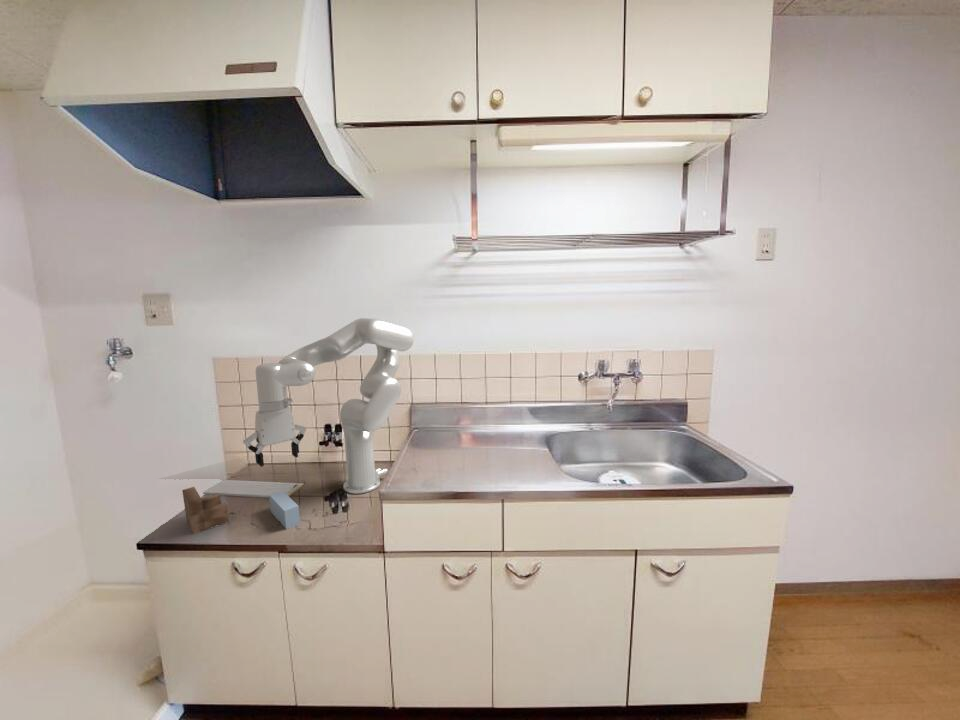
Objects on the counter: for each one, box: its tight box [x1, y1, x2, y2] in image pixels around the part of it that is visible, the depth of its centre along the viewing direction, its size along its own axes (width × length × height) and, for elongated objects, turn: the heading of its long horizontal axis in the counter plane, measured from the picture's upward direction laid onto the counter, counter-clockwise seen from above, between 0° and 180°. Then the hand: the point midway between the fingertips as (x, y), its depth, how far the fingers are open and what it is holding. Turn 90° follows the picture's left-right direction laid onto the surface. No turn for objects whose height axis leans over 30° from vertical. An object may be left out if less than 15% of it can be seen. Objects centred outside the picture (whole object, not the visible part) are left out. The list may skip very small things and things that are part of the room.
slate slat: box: [268, 490, 301, 530], centre depth 124 cm, size 4×14×6 cm, turn 44°
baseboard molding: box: [202, 479, 306, 499], centre depth 144 cm, size 31×3×12 cm
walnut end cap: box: [182, 486, 230, 534], centre depth 123 cm, size 9×10×10 cm
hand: (278, 460), depth 122 cm, fingers open, 9 cm apart
